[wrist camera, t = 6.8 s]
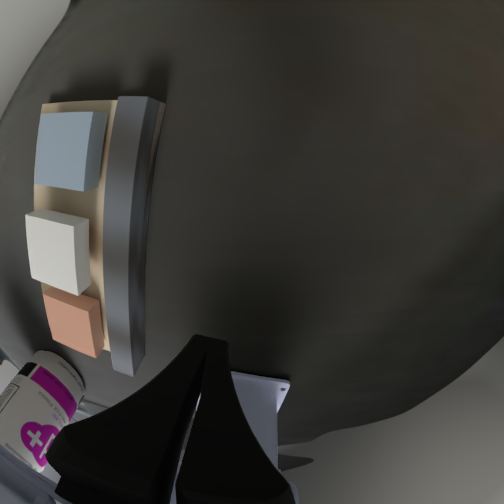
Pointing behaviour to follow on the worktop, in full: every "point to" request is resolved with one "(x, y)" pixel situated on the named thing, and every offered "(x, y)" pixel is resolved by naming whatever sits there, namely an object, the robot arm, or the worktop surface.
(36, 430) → the supplement can
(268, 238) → the worktop surface
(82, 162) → the key slate
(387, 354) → the worktop surface
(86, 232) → the key middle
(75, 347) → the key terracotta
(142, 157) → the keypad base
